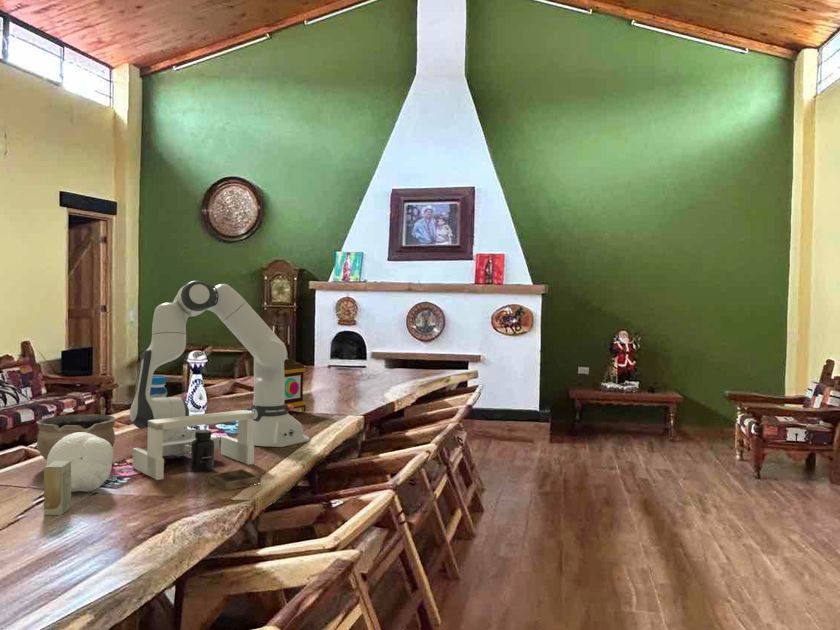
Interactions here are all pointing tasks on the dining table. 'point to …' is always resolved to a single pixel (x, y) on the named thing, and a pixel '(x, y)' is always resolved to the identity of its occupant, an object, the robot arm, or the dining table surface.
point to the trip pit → (233, 479)
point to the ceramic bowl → (73, 429)
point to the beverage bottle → (158, 387)
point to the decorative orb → (84, 459)
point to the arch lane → (230, 447)
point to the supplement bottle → (202, 452)
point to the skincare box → (57, 487)
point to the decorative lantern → (293, 383)
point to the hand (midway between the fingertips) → (197, 449)
